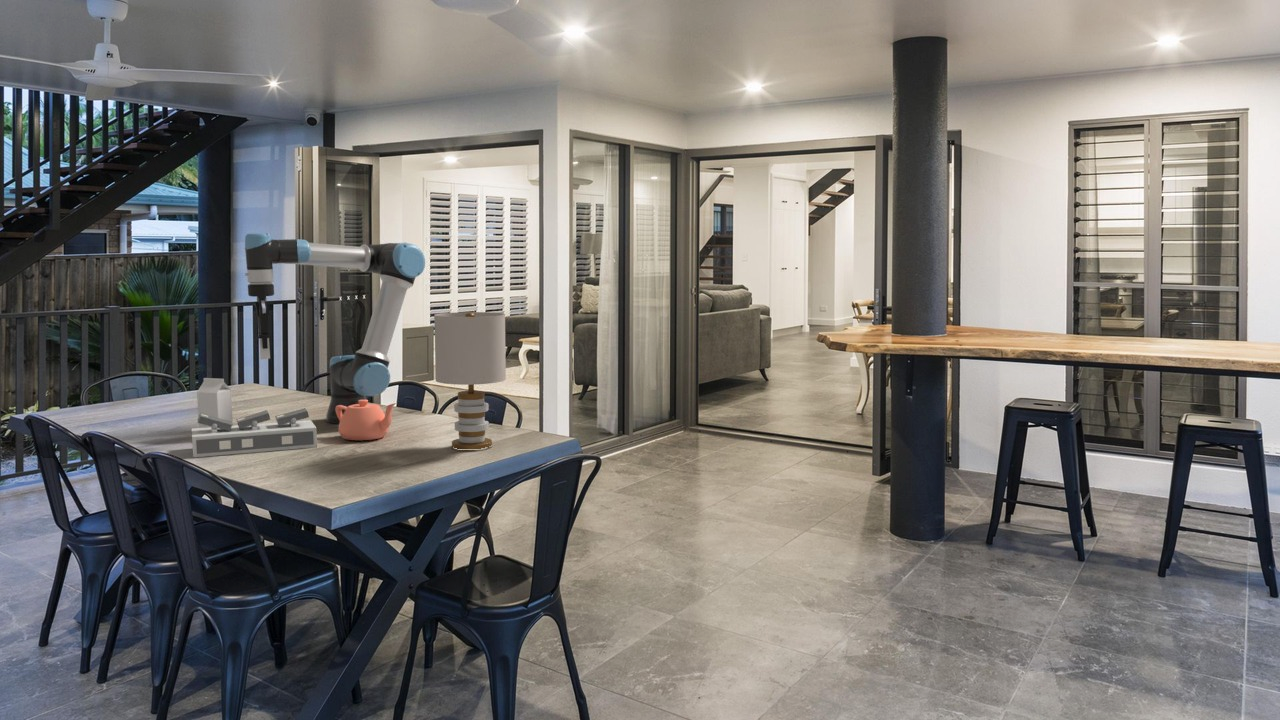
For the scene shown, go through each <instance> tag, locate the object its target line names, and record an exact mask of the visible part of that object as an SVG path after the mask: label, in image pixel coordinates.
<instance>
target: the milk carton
mask: <svg viewBox="0 0 1280 720" xmlns="http://www.w3.org/2000/svg"><path fill="white" fill-rule="evenodd" d="M196 397H197V398H196V399H197V400H196V401H197V413H198V414H197V415H198V417H199V414H200V413H201V414H205V415H209V416H212V417H216V418H220V419H224V420H227V421H231V423H232V426H234V425H233V424H234V422H233V406H232V405H233V403H232V389H231V388H230V387H229V386H228V385H227V384H226V382H225V379H224V378H214V377H213V378H212V377H211V378H210V377H203V381H202V383H201V385H200V387H199V388H198V390H197V391H196ZM198 417H197V418H198ZM207 427H211V426H208V425H204V424H200V423H198V428H207Z"/></svg>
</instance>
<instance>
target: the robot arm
mask: <svg viewBox="0 0 1280 720" xmlns="http://www.w3.org/2000/svg"><path fill="white" fill-rule="evenodd" d="M244 253H245V261H246V263H245V264H246V272H245V273H244V276H246V277H247V279H246V280H247V283H249V284H248V285H247V295H248V296H249V297H253V298H254V297H256V301H255V302H254V308H255V315H256V319H257V328H258V329H257V331H258V332H257V334H258V336H257V337H256V338H257V339H258V341H259V354H260V356H259V357H260V359H261V360H270V359H271V349H270V338H271V335H270V334H271V333H270V324H269V323H270V322H269V321H270V320H269V317H270V309H269V308H270V302H269V301H267V300H268V299H267V297H271V296H272V297H273V296H274V295H275V286H274V284H273V282H274V281H275V279H274V267H273V264H276V265H277V264H287V265H289V264H290V265H291V264H292V265H303V266H318V267H330V268H331V267H333V268H346V269H347V268H348V269H358V270H359V271H360V272H363V273H373V274H378V275H379V278H380V280H381V285H380V289H379V292H378V296H377V298H376V302H375V305H374V308H373V311H372V315H371V317H370V321H369V324H368V327H367V331H366V333H365V337H364V340H363V344H362V347H361V348H360V349H357V350H356V351H355V353H354V354H350V355H348V354H347V355H338V356H332V357H331V358H330V360H329V381H330V402H329V406H328V408H327V412H326V422H327V423H331V424H336V425H337V424H338V425H339V424H340V420H339V419H338V417H337V414H336V411H335V408H336V406H338V405H343V406H346V407H348V406H350V405H355V404H359V403H358V400H367V397H375V396H378V395H381V394H382V393H384V392H385V391H386V389H387V388H388V387H389V385H390V382H391V373H390V370H389V366H390V365H389V364H390V359H389V357H388V353H389V349H390V346H391V343H392V339H393V336H394V333H395V330H396V327H397V323H398V319H399V316H400V314H401V310H402V307H403V303H404V300H405V298H406V297H405V296H406V294H407V291H408V290H409V289H411V288H412V287H413V286H414V283H415V280H416V278H417V277H419V276H420V275H421V274H422V273H423V272H424V270H425V267H426V257H425V255H424V253H423V251H422V249H420V247H418V246H417V245H415V244H413V243H408V242H398V243H397V242H394V243H392V242H388V243H387V242H386V243H378V244H377V243H376V244H365V243H363V244H361V245H360V246H355V245H343V244H341V245H339V244H331V243H330V244H329V243H318V242H317V243H316V242H309V241H308V240H306V239H299V238H296V239H293V238H292V239H289V238H288V239H286V238H285V239H273V238H272V236H271V234H270V233H265V232H264V233H263V232H262V233H261V232H260V233H257V232H255V233H253V232H251V233H247V234H246V235H245V236H244ZM367 404H369V402H368V403H367ZM344 412H345V410H343V409H342V415H343V414H344Z"/></svg>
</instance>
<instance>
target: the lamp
mask: <svg viewBox="0 0 1280 720" xmlns="http://www.w3.org/2000/svg"><path fill="white" fill-rule="evenodd" d="M433 317H434V319H433V321H434V322H433V323H434V352H435V353H434V357H435V358H434V360H435V362H434V364H435V365H434V366H435V382H437V383H440V384H443V385H445V384H446V385H460V386H462V385H464V386H465V385H468V387H467V389H468V390H462V391H458V392H457V401H458V402H457V403H455V404H453V406H454V407H453V408H454V410H453V411H454V412H455V413H457V416H458V421H455V422H454V430H455V431H456V432H458V438H456V439H454V440H452V441H451V448H452V447H454V448H457V449H481V448H485V447H489V446H491V445H492V446H493V441H492V439H491V438H487V437H485V436H486V431H487V430H488V429H490V426H489V421H488V420H485V418H486V417H485V416H486V412H488V411H489V403H488V402H485V396H486V395H485V391H482V390H475V385H488V384H495V383H496V384H497V383H501V382H504V381H506V380H507V377H506V376H507V375H506V373H507V372H506V371H507V370H506V368H507V367H506V363H507V361H506V314H505V313H502V312H486V311H485V312H483V311H481V312H480V311H478V312H477V311H476V312H475V311H470V312H469V311H466V312H465V311H462V312H442V313H436V314H435V313H434V315H433Z"/></svg>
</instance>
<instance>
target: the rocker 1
mask: <svg viewBox="0 0 1280 720" xmlns="http://www.w3.org/2000/svg"><path fill="white" fill-rule="evenodd" d="M197 423H198V424H199V423H200V424H204V425H208V426H211V427H212V428H213V429H216V428H219V429H223V430H227V431H230V430H231V427H232V423H231V421H227V420H224V419H220V418H216V417H212V416H209V415H205V414H201V413H200V414H199V417H197Z"/></svg>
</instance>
